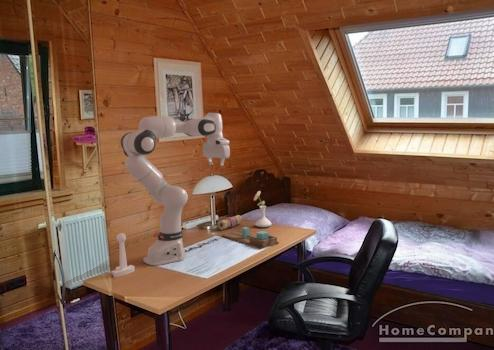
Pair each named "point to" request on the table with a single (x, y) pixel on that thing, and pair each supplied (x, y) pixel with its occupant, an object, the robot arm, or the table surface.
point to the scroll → (229, 222)
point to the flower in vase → (262, 214)
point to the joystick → (122, 259)
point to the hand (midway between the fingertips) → (216, 165)
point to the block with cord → (260, 235)
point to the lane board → (252, 240)
